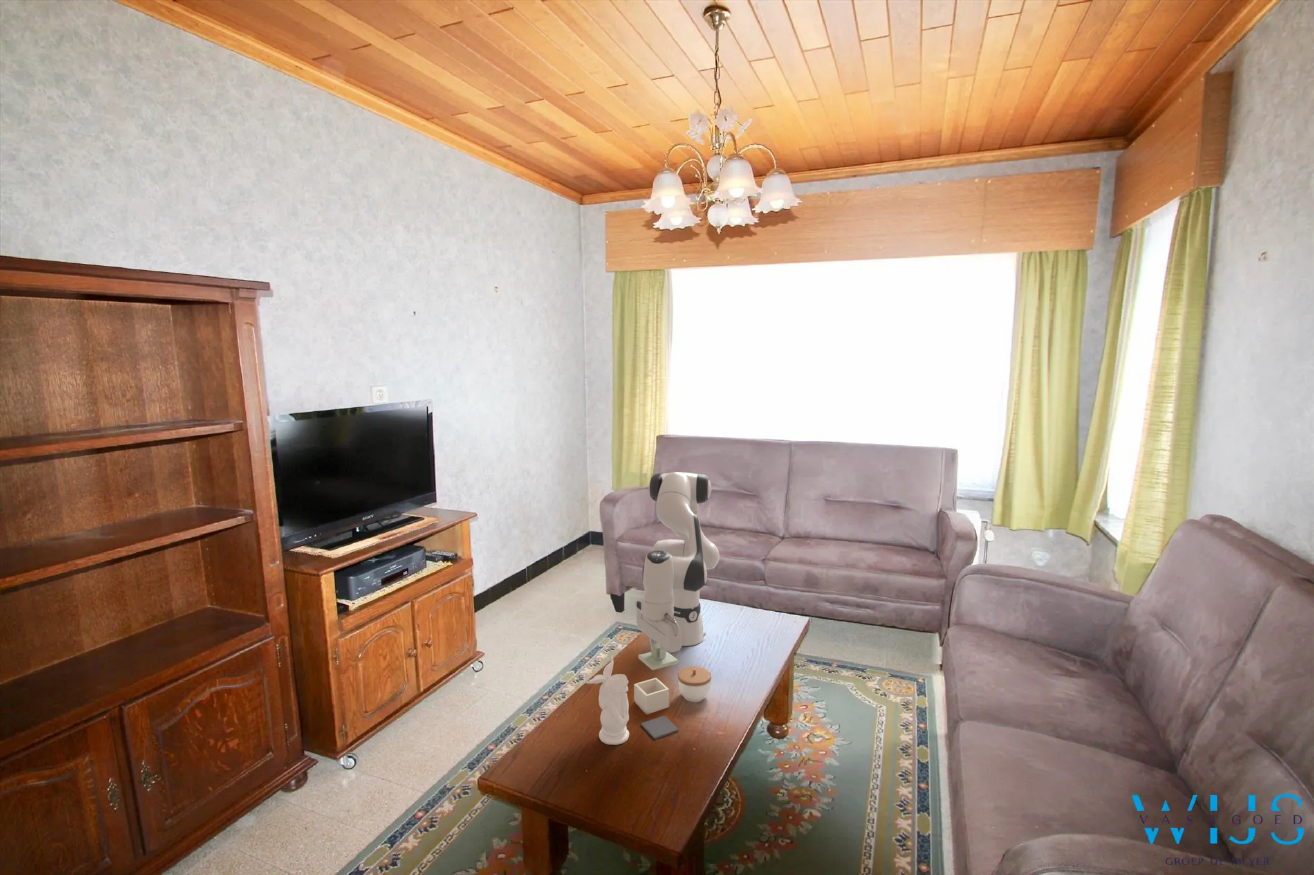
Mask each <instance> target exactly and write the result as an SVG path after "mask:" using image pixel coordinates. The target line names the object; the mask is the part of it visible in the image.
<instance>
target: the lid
mask: <svg viewBox="0 0 1314 875" xmlns="http://www.w3.org/2000/svg"><path fill="white" fill-rule="evenodd" d="M660 649H661V648H660V645H659V644H658V643H657V644H654V645H652V651H649V652H645V653H642V654H638V659H639V660H640V661H641V662H642V663H644V665H646V667H648V668H649V669H650V670H652V671H656V670H658V669H663V668H665V667H670V666H674V665H677V664H679V659H678V658H676V656H675V657H674V656H673V655H672V654H671V653H670V652H669V651H666V657H665V658H663V659H661V658H660V657H658V651H660Z"/></svg>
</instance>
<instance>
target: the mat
mask: <svg viewBox="0 0 1314 875" xmlns="http://www.w3.org/2000/svg"><path fill="white" fill-rule="evenodd" d="M640 725H641V727H642V728H643V729H644V730H645V731H646V732H647V733H648V734H649V735H650V736H651V738H653V739H654V740H657V739H660V738H663V737H665V736H668V735H671V734H674V733H677V732H679V728H678V727H677V726H676V725H675V724H674V723H673V722H672V721H671V720H670V719H668V717H667V716H665V715H662V716H659V717H656V718H652V719H649V720H647V721H644V722H641V724H640Z"/></svg>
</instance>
